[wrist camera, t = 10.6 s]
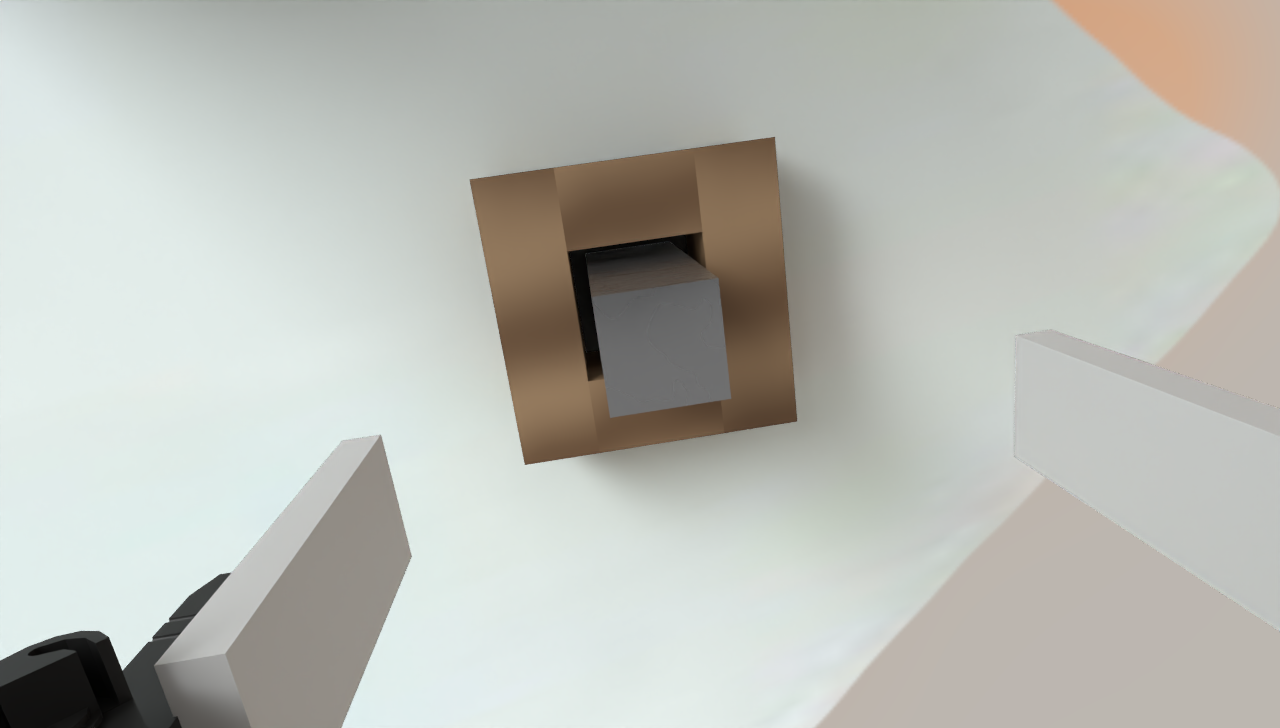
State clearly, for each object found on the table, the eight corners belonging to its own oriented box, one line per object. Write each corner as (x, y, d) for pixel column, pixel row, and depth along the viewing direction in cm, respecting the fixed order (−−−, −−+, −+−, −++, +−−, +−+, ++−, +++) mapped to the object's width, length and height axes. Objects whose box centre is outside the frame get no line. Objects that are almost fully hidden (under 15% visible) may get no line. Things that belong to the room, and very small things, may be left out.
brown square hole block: (485, 177, 32) (469, 179, 28) (745, 141, 33) (774, 136, 28) (531, 424, 36) (525, 464, 31) (767, 387, 36) (797, 421, 31)
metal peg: (585, 253, 34) (591, 297, 22) (669, 241, 34) (718, 278, 22) (597, 335, 35) (610, 417, 23) (679, 323, 35) (731, 398, 23)
